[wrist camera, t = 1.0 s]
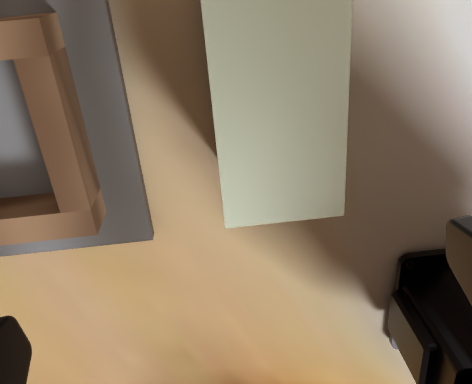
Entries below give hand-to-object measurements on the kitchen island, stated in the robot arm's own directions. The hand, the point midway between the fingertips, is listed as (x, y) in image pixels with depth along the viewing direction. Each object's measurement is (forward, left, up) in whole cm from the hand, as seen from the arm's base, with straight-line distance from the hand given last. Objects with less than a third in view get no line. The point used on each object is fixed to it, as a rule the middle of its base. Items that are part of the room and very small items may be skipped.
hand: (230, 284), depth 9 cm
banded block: (-2, -2, -11) cm, 12 cm away
